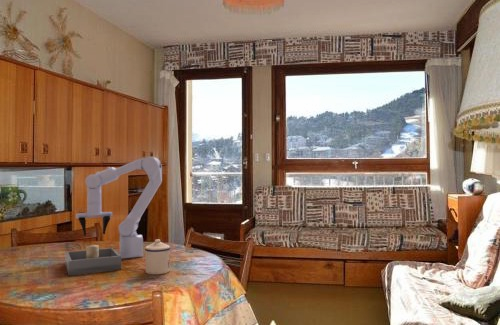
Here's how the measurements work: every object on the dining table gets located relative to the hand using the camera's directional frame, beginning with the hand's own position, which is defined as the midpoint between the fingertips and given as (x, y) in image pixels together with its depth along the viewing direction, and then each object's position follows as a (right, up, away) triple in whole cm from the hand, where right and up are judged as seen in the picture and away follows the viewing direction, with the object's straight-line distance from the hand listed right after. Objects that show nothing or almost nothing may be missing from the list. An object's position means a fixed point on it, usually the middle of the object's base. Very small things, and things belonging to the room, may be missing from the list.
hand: (94, 234), depth 178 cm
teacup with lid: (+32, -9, -24) cm, 41 cm away
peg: (+6, -9, -18) cm, 21 cm away
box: (+6, -9, -18) cm, 21 cm away
